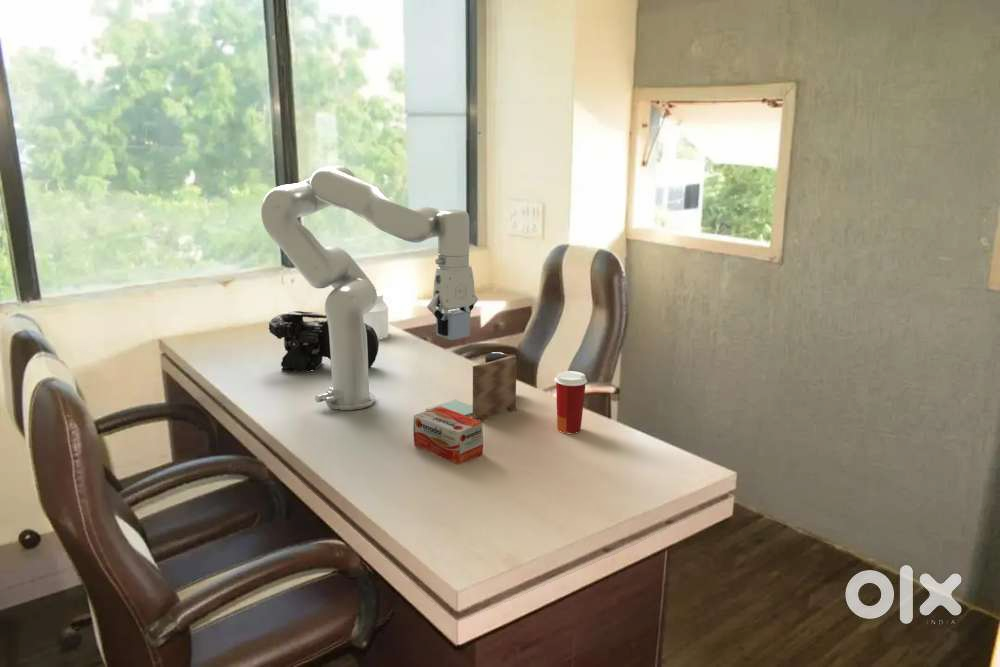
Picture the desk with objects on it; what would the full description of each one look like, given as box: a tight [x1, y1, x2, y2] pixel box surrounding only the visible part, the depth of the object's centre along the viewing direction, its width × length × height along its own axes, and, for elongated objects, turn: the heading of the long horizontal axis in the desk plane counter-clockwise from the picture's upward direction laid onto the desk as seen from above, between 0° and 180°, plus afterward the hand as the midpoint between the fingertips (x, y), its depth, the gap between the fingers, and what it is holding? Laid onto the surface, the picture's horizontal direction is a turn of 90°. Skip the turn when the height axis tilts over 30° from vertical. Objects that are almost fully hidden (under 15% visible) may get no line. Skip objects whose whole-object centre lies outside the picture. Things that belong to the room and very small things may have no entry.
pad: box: [425, 399, 473, 417], centre depth 198 cm, size 10×10×1 cm
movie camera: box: [268, 310, 380, 372], centre depth 227 cm, size 31×18×18 cm, turn 89°
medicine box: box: [413, 406, 484, 466], centre depth 174 cm, size 15×8×8 cm, turn 47°
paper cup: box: [554, 370, 588, 434], centre depth 185 cm, size 8×8×14 cm
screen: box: [471, 354, 518, 422], centre depth 195 cm, size 14×4×14 cm, turn 134°
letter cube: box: [435, 308, 471, 341], centre depth 192 cm, size 6×6×6 cm
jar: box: [363, 291, 390, 339], centre depth 263 cm, size 12×10×15 cm
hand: (453, 331), depth 192 cm, fingers closed on letter cube, 6 cm apart
